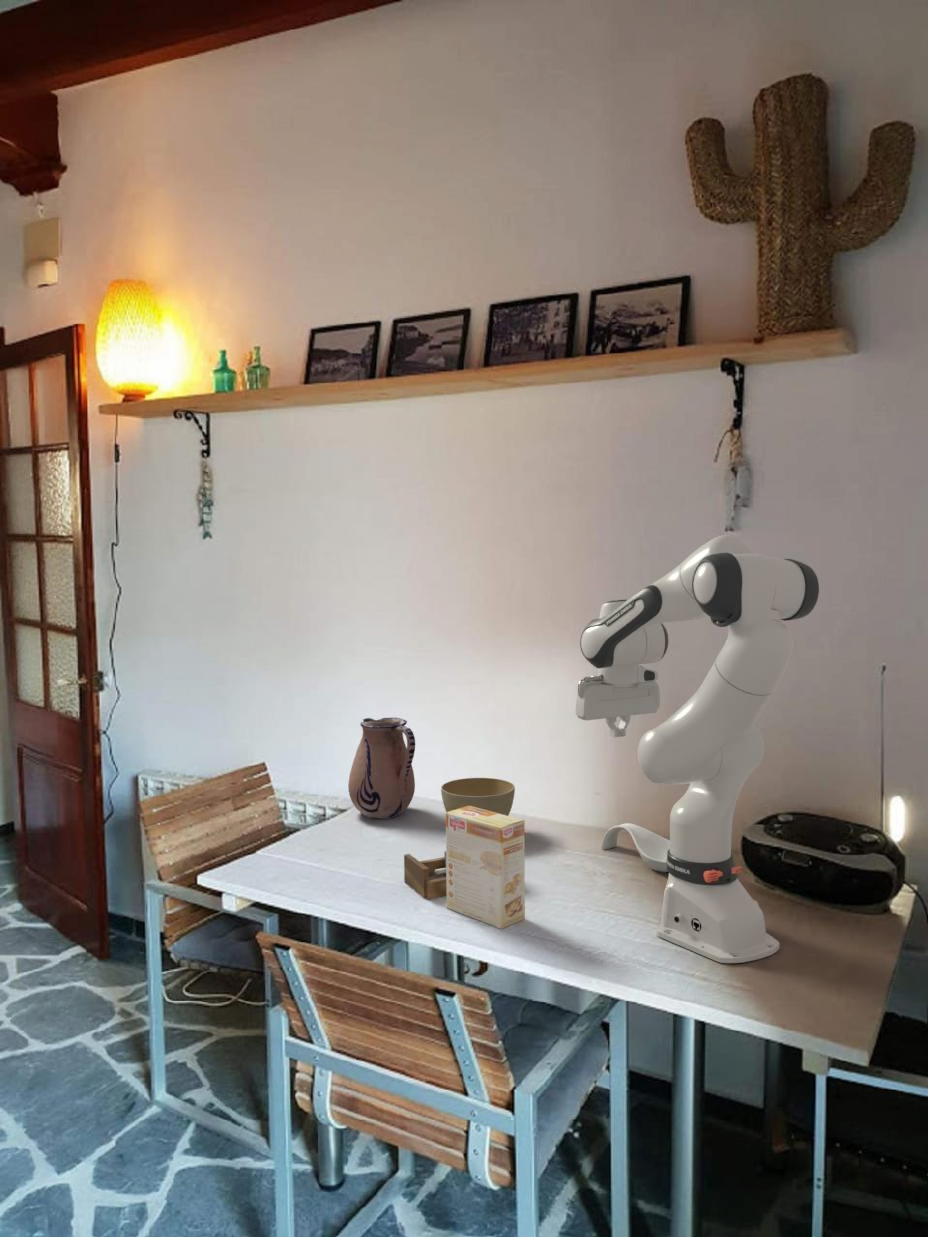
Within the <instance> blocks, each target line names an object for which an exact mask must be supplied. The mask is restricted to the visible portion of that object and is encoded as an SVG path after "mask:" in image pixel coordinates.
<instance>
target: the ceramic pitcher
mask: <svg viewBox="0 0 928 1237" xmlns="http://www.w3.org/2000/svg"><path fill="white" fill-rule="evenodd" d="M407 723H408V721H407V720H406V719H403V718H400V717H383V718H381V719H377V720H376V719H374V718H371V717H368V718H363V719H362V722H360V724H359V725H360V727H361V728H362V735H361V736H362V737H361V739H360V742H359V744H358V746H357V749H356V753H355V756H354V758H353V761H352V765H351V768H350V772H349V778H348V786H347V787H348V795H349V799H350V800H351V802H352V805H353V806H354V807H355V809H356V810H357V811H358V812H359V813H361V814H362V815H363V816H365V817H367V818H369V819H375V818H376V819H377V818H379V819H385V820H386V819H391V818H394V817H398V816H399V815H401V814H402V813H404V812H405V811H406V810H407V809H408V808H409V806H410V804H411V803H412V801H413V798H414V794H415V792H416V791H415V789H416V784H415V783H416V782H415V773H414V769H413V768H414V767H413V765H412V763H413V759H414V757H415V751H416V736H415V734H414V731H412V729H411V728H410V727H409V726H408V727H407V726H406V725H407ZM404 735H405V737H406V743H405V740H404ZM406 744H407V745H406Z"/></svg>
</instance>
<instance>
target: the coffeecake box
mask: <svg viewBox="0 0 928 1237" xmlns="http://www.w3.org/2000/svg"><path fill="white" fill-rule="evenodd" d="M525 840H526V839H525V819H522V818H517V817H514V816H510V815H509V816H506V815H502V814H499V813H495V812H491V811H488V810H484V809H480V808H476V807H472V806H466V807H462V808H459V809H456V810H452V811H449V812H446V811H445V851H446V875H445V876H446V885H447V896H446V909H449V910H451V911H455V912H457V913H459V914H462V915H465V916H467V917H470V918H473V919H475V920H478V921H480V922H482V923H485V924H488V925H491V926H493V927H495V928H499V929H500V930H503V929H504V928H506V927H508V926H511V925H514V924H516V923H518V922H521V921H523V920H526V916H525V915H526V913H525V912H526V909H525V908H526V906H525V904H526V899H525V897H526V896H525V894H526V892H525V891H526V890H525V889H526V887H525V884H526V882H525V881H526V880H525V877H526V876H525V872H526V871H525V869H526V866H525V865H526V864H525V858H526V855H525V851H526V850H525V848H526V847H525V846H526V845H525V843H526V842H525Z"/></svg>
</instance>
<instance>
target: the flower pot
mask: <svg viewBox="0 0 928 1237" xmlns="http://www.w3.org/2000/svg"><path fill="white" fill-rule="evenodd" d="M515 789H516V786H515V784H514V783H513V782H510V781H509V780H505V779H500V778H494V777H466V778H457V779H453V780H449V781H447V782H445V783H443V784H442V785H441V787H440V792H441V793H440V794H441V798H442V803H443V807H444V809H445V813H446V812H449V811H452V810H456V809H459V808H462V807H466V806H472V807H476V808H480V809H484V810H488V811H491V812H495V813H499V814H502V815H506V816H510V813H511V810H512V807H513V803H514V800H515V791H516V790H515Z"/></svg>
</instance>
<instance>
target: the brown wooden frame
mask: <svg viewBox="0 0 928 1237" xmlns="http://www.w3.org/2000/svg"><path fill="white" fill-rule="evenodd" d="M403 861H404V863H403V866H404V867H403V872H404V874H403V875H404V877H403V878H404V884H406V885H407V884H408V885H409V886H408V885H407V886H408V887H409V888H411V889H412V890H413V889H414V890H415V891H414V890H413V891H414V892H415V893H417V894H418V896H420V895H421V897H422V898H423V899H427V900H428V901H429V900H434V899H439V898H440V899H441V898H444V897H445V898H447V885H446V877H441V876H444V875H445V876H446V874H445V873H441V874H435V870H436V869H441V868H445V856H442V857H437V858H432V859H427V860H420V861H419V860H418V859H417V858H415V857H414V856H413V855H412V854H410V853H407V854H403ZM436 877H441V878H436ZM430 878H436V879H430Z"/></svg>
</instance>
